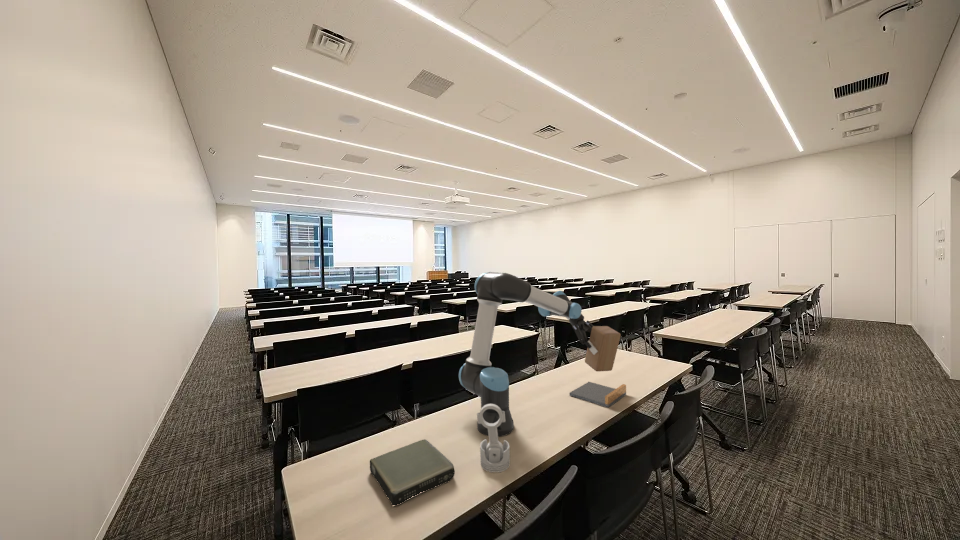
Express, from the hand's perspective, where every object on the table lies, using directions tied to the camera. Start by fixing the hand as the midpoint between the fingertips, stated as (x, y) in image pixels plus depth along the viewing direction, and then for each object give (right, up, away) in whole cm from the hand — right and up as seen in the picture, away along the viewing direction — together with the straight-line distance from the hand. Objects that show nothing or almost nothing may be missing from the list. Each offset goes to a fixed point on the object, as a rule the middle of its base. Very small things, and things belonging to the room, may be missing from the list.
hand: (602, 350), depth 165 cm
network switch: (-82, -28, -56) cm, 103 cm away
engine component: (-56, -27, -50) cm, 80 cm away
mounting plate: (-1, -23, +3) cm, 23 cm away
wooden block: (-2, -9, +2) cm, 9 cm away
